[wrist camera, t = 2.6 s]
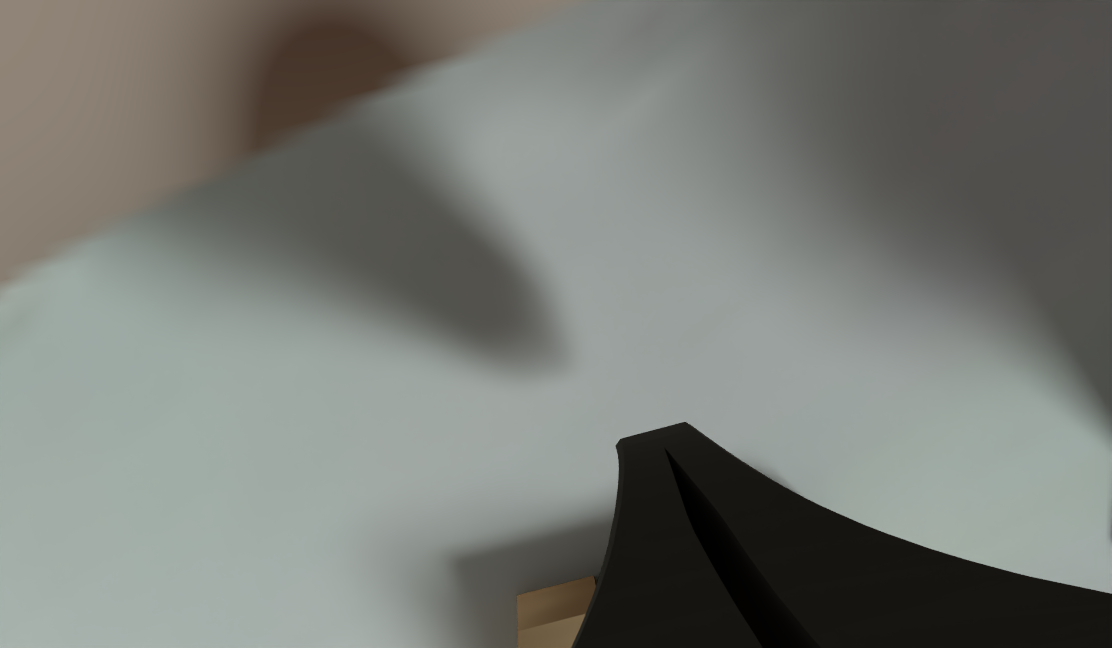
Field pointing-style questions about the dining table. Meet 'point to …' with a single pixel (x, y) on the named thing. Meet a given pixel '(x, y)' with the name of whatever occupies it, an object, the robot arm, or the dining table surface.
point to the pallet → (553, 614)
